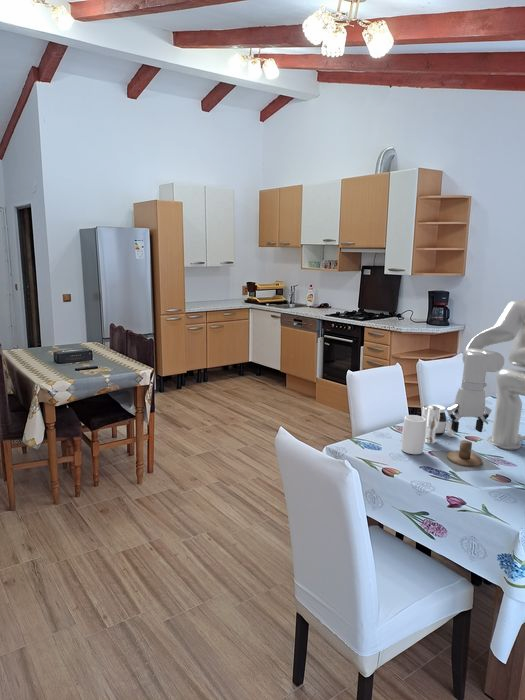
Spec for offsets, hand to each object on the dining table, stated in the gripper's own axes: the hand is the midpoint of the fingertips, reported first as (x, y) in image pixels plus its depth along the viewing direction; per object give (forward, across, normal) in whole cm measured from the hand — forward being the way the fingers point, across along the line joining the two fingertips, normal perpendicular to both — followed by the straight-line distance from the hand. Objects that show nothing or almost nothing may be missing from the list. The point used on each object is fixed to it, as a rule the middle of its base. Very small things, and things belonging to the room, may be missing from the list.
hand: (466, 431), depth 190 cm
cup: (+13, +15, -10) cm, 22 cm away
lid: (+12, -1, 0) cm, 12 cm away
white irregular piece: (+12, -7, -30) cm, 33 cm away
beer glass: (+12, +3, -20) cm, 24 cm away
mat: (+12, -1, 0) cm, 12 cm away
